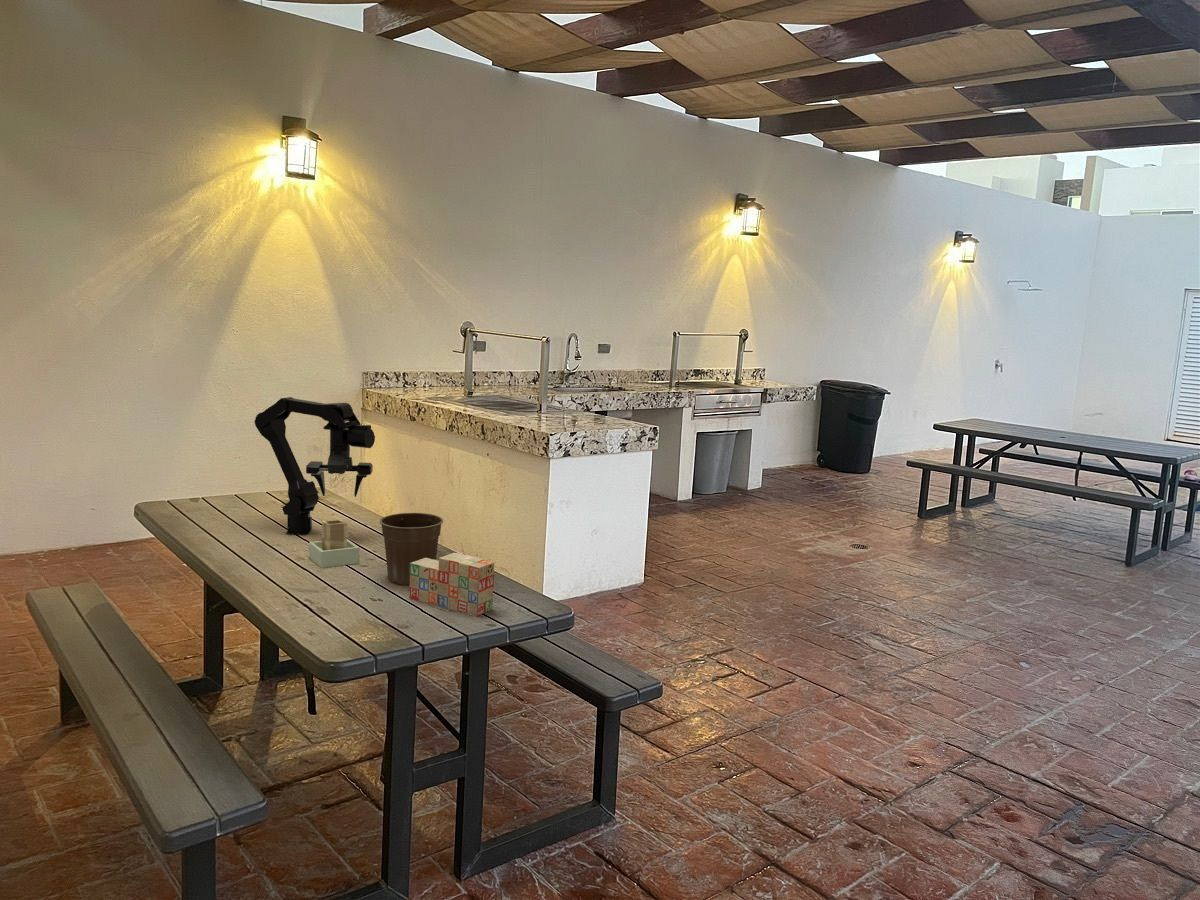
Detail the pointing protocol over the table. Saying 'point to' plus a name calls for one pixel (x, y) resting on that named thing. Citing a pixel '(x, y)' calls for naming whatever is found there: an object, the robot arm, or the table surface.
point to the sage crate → (333, 555)
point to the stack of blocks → (454, 583)
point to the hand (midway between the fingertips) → (339, 496)
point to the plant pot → (409, 542)
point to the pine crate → (334, 534)
